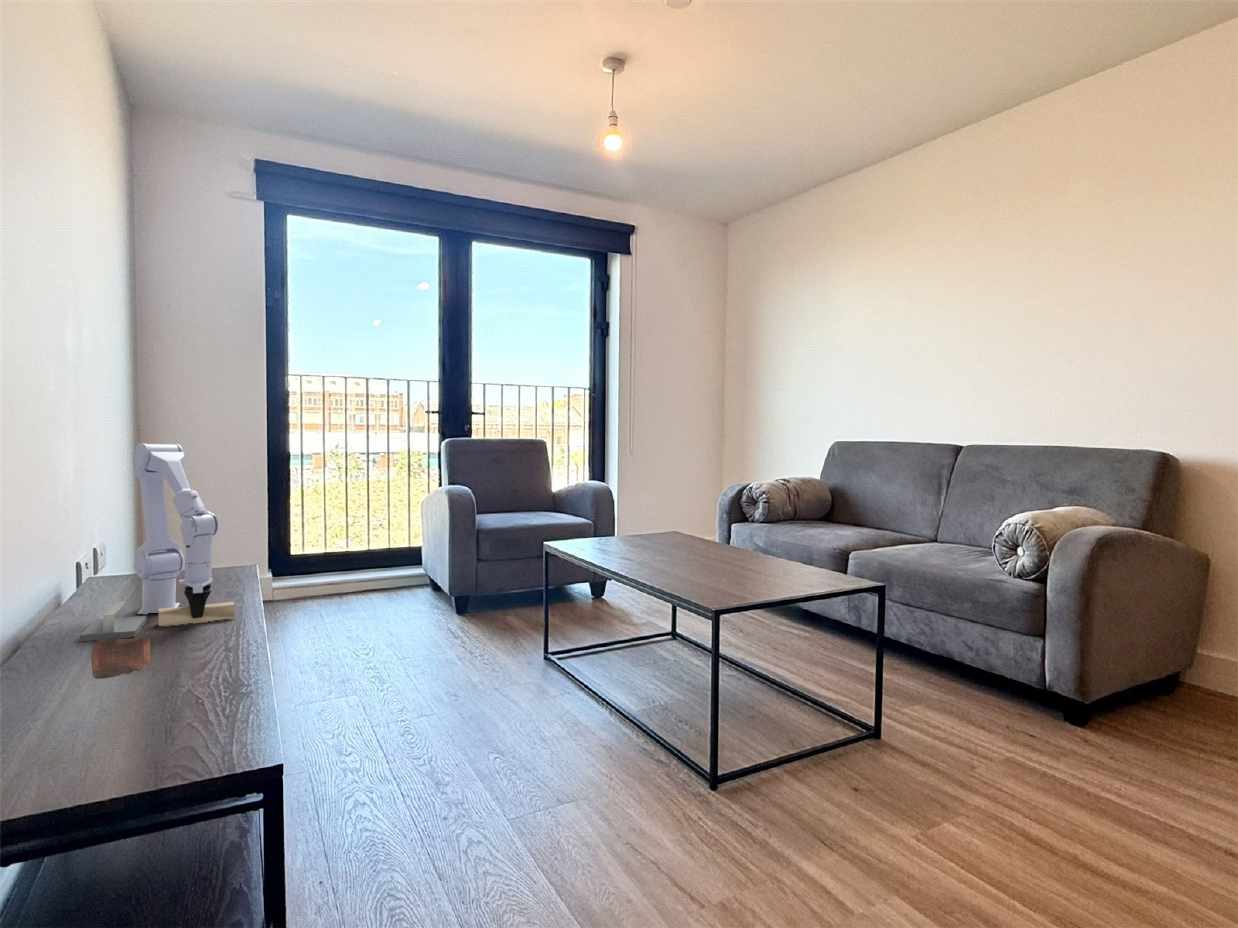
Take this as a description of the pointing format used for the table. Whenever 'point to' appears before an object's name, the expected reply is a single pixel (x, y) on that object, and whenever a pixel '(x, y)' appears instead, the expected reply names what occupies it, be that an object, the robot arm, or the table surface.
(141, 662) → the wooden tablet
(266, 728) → the table surface
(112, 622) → the steel ridge
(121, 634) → the grey slab
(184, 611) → the maple bar
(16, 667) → the table surface
